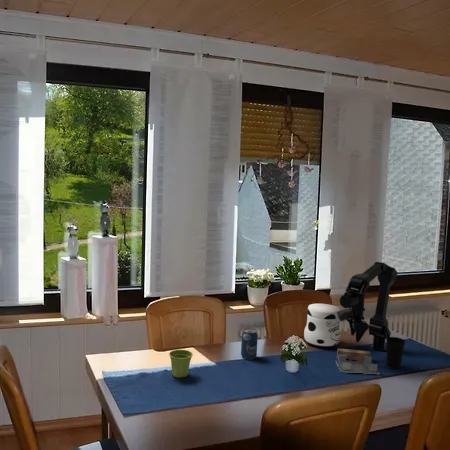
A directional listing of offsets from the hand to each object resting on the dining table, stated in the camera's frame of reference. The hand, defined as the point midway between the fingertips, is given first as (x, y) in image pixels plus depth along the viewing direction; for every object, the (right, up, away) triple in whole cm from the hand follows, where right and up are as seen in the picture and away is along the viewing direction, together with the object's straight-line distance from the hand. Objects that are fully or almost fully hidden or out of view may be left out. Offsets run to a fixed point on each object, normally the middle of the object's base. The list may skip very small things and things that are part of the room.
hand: (354, 338), depth 228 cm
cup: (+15, -11, -5) cm, 20 cm away
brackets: (-2, -11, -10) cm, 15 cm away
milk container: (-11, -7, +20) cm, 24 cm away
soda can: (-48, -8, -3) cm, 48 cm away
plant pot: (-76, -9, -26) cm, 80 cm away
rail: (-1, -10, +1) cm, 10 cm away
